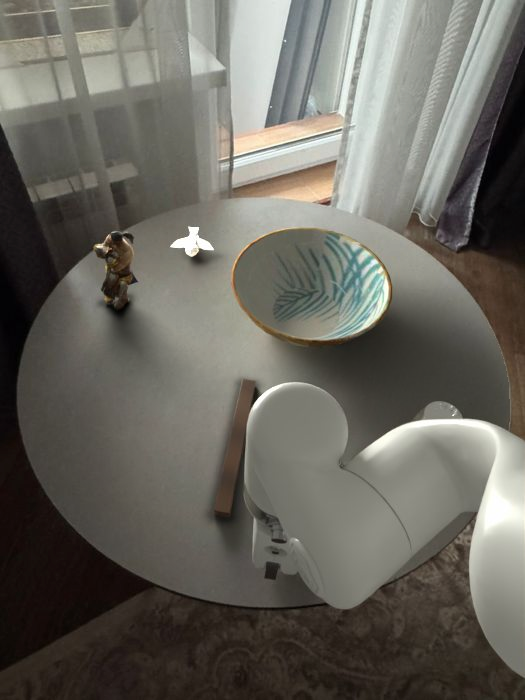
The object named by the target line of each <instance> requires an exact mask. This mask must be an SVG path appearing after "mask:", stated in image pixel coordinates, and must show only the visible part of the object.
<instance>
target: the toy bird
mask: <svg viewBox="0 0 525 700" xmlns="http://www.w3.org/2000/svg"><path fill="white" fill-rule="evenodd" d="M187 227H188V231H189V235H188V236H186V237H183V238H179V239H176V240H175V241H174V242H173V243H172V244H171V245H170V246H169V247H170V248H178V249H181V248H185V253H186V255H188V256H189V257H194V256H196V255H197V253H199V251H200V249H201V250H205V251H215V249H214V248H213V246H212V245H211V243H210V242H209V241H207V240H205V239H202V238H200V237H199V235H198V232H199V230H200V227H199V226H198V227H192V226H187Z"/></svg>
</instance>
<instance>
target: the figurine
mask: <svg viewBox="0 0 525 700" xmlns="http://www.w3.org/2000/svg"><path fill="white" fill-rule="evenodd" d="M127 239H128V240H129V242H130V243H131V244H132V245H133V244H134V239H135V237H134V235H133V234H132V233H130V232H129V231H127V230H125V231H124V232H123V233H122V232H121V231H117V230H115V231H111V232H110V233H109V234H108V235H107V236H106V238H105V240H104V241H103V242H102V243H98V244H97V243H96V244H95V245H93V251H94V253H95V254H96V257H97V258H99V259H102V260H104V261H105V279H104V281H103V282H102V285H101V288H100V291H101V292H102V293H103V297H104V299H103V302H104V303H105V304H107V305H112V304H113V302H114V301H115V302H114V304H113V307H114V309H115V310H117V311H119V310H121V309H122V308H123V307H125V305H126V303H129V302H130V300H131V299H130V297H129V294H128V290H129V286H131V285H134V284H136V283H139V281H138V280H137V278H136V276H135V274H134V272H133V269H132V268H131V264H132V261H133V260H134V257H135V254H134V250H133V247H132V246H131V244H130V243H129V242H127V241H126V240H127ZM117 298H118V299H117Z"/></svg>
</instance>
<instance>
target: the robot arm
mask: <svg viewBox="0 0 525 700" xmlns="http://www.w3.org/2000/svg"><path fill="white" fill-rule="evenodd" d="M348 439H349V427H348V420H347V417H346V414H345V412H344V410H343V408H342V406H341V405H340V403H339V402H338V401H337V400H336V399H335V398H334V396H333V395H332V394H330V393H329V392H327V391H326V390H324V389H323V388H321V387H319V386H316V385H314V384H310V383H306V382H300V381H298V382H297V381H293V382H292V381H291V382H285V383H281V384H277V385H275V386H273V387H271V388H269V389H267V390H266V391H264V393H262V394H261V395H260V396H259V397H258V398H257V400H256V401H255V402H254V404H252V406H251V411H250V413H249V417H248V422H247V430H246V437H245V452H244V472H243V473H244V474H243V476H244V477H243V499H244V503H245V505H246V508H247V510H248V511H249V513H250V515H251V516H252V517H253V527H252V551H251V553H252V554H251V558H252V559H251V562H252V565H253V566H254V568H255V569H263V568H264V577H263V579H264V580H272V581H276V580H277V574H278V570H280V571H281V572H282V573H283V574H284V575H293V576H294V575H296V574H297V573H298V575H299V576H300V577H301V579H302V581H303V582H304V584H305V585H306V586H307V588H308V589H309V590H310V591H311V592H312V593H313V594H314V595H315V596H317V597H318V598H319V599H322V600H323V601H324V602H325V603H326V604H328V605H329V606H330V607H333V608H334V609H338V610H350V609H353V608H355V607H357V606H359V605H361V604H362V603H364V602H365V601H366V600H367V599H368V598H370V597H371V596H372V595H374V593H376V592H377V591H378V590H379V589H380V588H381V587H382V586H383V585H384V584H386V582H388V580H390V579H391V578H392V577H393V576H394V575H395V574H396V573H397V572H398V571H399V570H400V569H402V568H403V567H404V566H405V565H406V564H407V563H408V562H409V561H410V560H411V559H412V558H413V557H414V556H415V555H416V554H418V552H420V551H421V550H422V549H423V548H424V547H426V545H427V544H428V543H429V542H431V540H433V539H434V538H435V537H436V536H437V535H439V533H440V532H442V530H444V529H445V528H446V527H447V526H449V525H450V524H451V523H452V522H453V521H454V520H455V519H456V518H457V517H459V515H461V514H462V513H477V516H476V520H475V524H474V527H473V532H472V537H471V543H470V549H469V556H468V557H469V558H468V574H469V575H468V576H469V589H470V595H471V600H472V601H471V602H472V605H473V609H474V612H475V616H476V618H477V622H478V624H479V625H480V628H481V630H482V632H483V635H484V637H485V639H486V640H487V642H488V643H489V645H490V647H491V648H492V649H493V651H494V652H495V653H496V655H497V656H498V657H499V658H500V659H501V661H502V662H504V663H505V664H506V665H507V666H508V668H510V669H511V670H512V671H513V672H514V673H515V674H517V675H519V676H520V677H522V678H524V679H525V440H524V439H523V438H521V437H520V436H517V435H516V434H514V433H512V432H511V431H508V430H507V429H505V428H503V427H502V426H499V425H497V424H494V423H491V422H489V421H486V420H481V419H474V418H473V419H472V418H463V419H431V420H420V421H415V422H412V421H410V422H407V423H403V424H401V425H399V426H397V427H395V428H392V429H391V430H390V431H388V432H387V433H384V434H383V435H382V436H381V437H379V438H378V439H376V440H374V441H373V442H371V444H369V445H367V446H366V448H364V449H363V450H361V451H360V452H359V453H358V454H357V455H355V456H353V458H351V459H350V460H349V461H347V462H346V463H345V464H343V465H342V466H340V464H341V462H342V458H343V456H344V453H345V450H346V447H347V444H348ZM279 565H280V567H279Z"/></svg>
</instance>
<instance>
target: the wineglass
mask: <svg viewBox="0 0 525 700" xmlns="http://www.w3.org/2000/svg"><path fill="white" fill-rule="evenodd" d="M431 419H464V417H463V415H462V413H461V412H460V410H459V409H458V408H457V407H456V406H454V405H453V404H451V403H449V402H447V401H442V400H441V401H440V400H437V401H432V402H430V403H428V404H427V405H426V406H424V407H423V408H422V409H420V411H418V412H417V414H415V416H414V417H413V419H412V421H411V422H415V421H420V420H431Z"/></svg>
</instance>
